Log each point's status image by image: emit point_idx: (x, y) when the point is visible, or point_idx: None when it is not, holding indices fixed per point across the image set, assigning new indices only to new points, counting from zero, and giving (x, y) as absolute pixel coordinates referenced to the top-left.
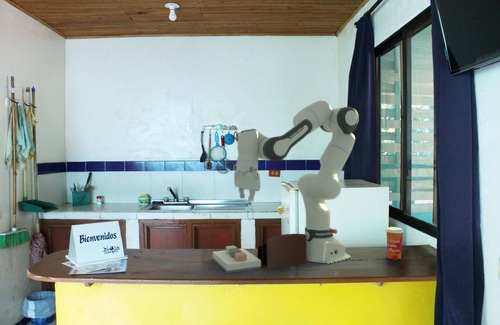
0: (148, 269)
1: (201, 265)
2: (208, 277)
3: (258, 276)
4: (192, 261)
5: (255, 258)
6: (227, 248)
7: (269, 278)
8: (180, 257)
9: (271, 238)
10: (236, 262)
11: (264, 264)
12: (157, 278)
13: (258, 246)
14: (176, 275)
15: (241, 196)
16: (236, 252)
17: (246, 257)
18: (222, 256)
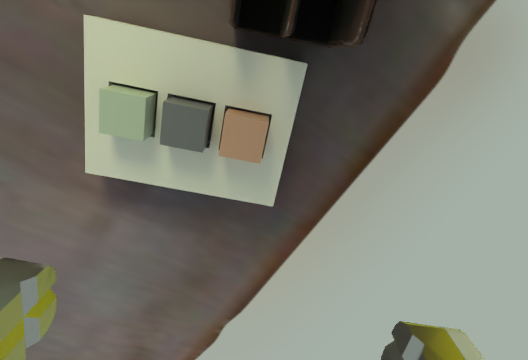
0: (118, 344)
1: (152, 223)
2: (270, 253)
3: (365, 124)
4: (94, 228)
5: (270, 68)
6: (124, 136)
7: (407, 103)
8: (30, 242)
9: (374, 11)
10: (270, 167)
11: (298, 35)
12: (201, 347)
13: (232, 19)
14: (204, 309)
15: (23, 338)
16: (205, 136)
17: (268, 120)
18: (169, 172)
